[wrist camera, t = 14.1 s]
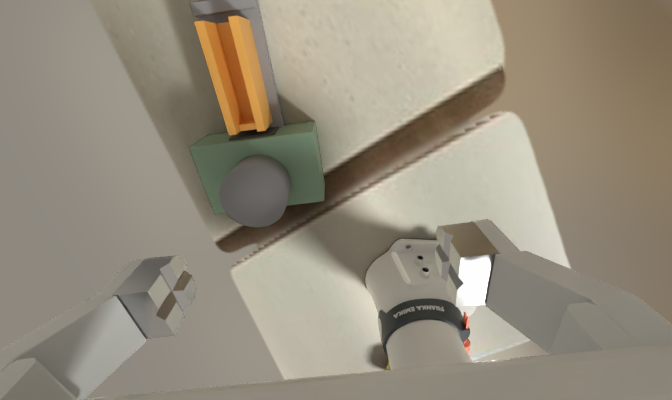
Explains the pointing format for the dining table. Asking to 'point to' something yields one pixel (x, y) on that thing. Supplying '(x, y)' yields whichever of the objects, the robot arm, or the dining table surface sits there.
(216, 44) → the chute
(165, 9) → the dining table surface
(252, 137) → the green coffee machine
